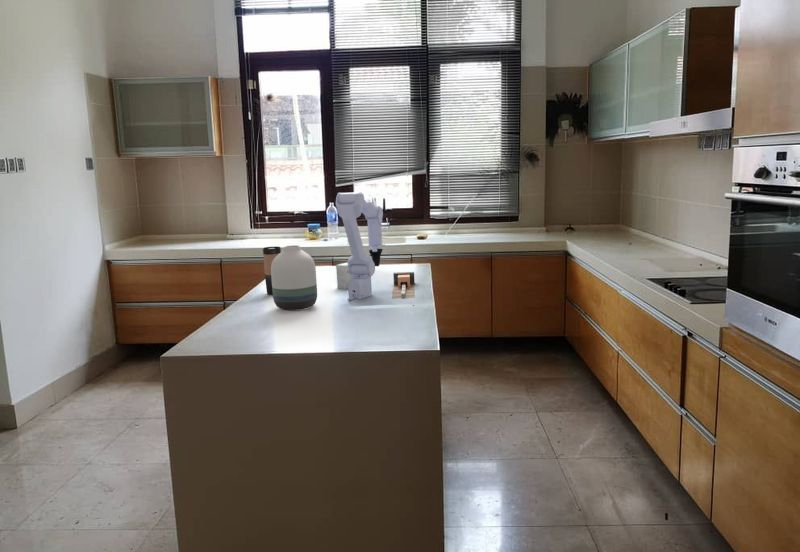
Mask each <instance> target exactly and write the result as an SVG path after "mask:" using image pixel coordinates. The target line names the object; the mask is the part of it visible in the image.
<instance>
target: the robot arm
mask: <svg viewBox="0 0 800 552" xmlns="http://www.w3.org/2000/svg"><path fill="white" fill-rule="evenodd" d="M335 206H336V210H337V213H338V216H339V217H340V218H341V220H342V223H343V226H344V230H345V234H346V237H347V240H348V245H349V249H350V251H351V255H350V256H349V258H348V259H347V262H346V263H348V272H349V274H350V275H351V276H352V277H353V279H352V280H350V281H349V283H348V289H347V290H348V297H347V300H348V301H353V300H354V299H358V300H359V299H360V300H361V299H364V298H368V297H371V296H372V295H373V289H372V287H373V286H372V276H373V275H374V274H375V272H376V267H380V264H381V255H382V253H383V248H382V247H385V246H386V244H385V243H383V229H382V224H383V217H384V212H383V211H384V210H383V208H382V206H380V205H376V204H375V203H373V202H371V200H370V199H365V196H364V193H362V191H358V192H337V195H336V198H335ZM361 214H362V215H364V218H365V220H367V234H368V236H367V237H368V248H370V249H369V250H368V252H369V253H366V252H365V249H364V244H363V241H362V237H361V233H360V230H359V226H358V222H357V218H359V217H361ZM369 254H370V255H369Z"/></svg>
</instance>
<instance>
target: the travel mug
mask: <svg viewBox="0 0 800 552" xmlns="http://www.w3.org/2000/svg"><path fill="white" fill-rule="evenodd" d="M281 249H282V248H281V246H266V247H264V248H263V249H262V253H263V254H262V255H263V269H264V278H265V279H264V280H265V288H266V294H267V295H269V296H273V290H272V278H271V265H272V261H273V260H274V258H275V257H276V256H277V255H278V254H280V253H281V252H282V251H281Z"/></svg>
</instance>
